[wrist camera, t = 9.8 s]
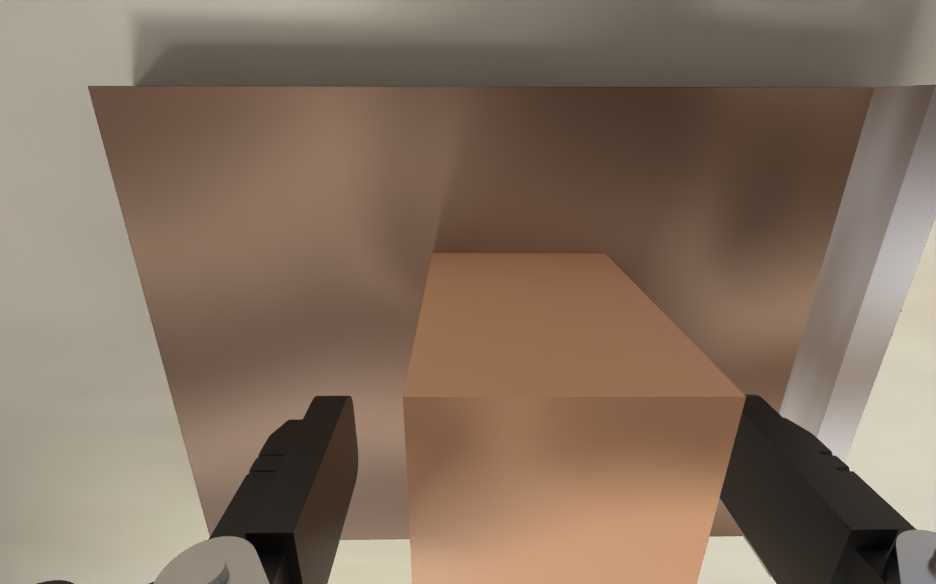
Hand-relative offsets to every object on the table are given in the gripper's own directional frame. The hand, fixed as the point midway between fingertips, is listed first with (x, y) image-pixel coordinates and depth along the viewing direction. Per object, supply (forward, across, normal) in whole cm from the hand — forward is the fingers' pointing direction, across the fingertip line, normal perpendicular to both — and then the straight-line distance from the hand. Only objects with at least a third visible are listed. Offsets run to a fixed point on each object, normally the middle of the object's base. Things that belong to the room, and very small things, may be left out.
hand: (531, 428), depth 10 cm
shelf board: (+5, 0, 0) cm, 5 cm away
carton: (+3, 0, 0) cm, 3 cm away
